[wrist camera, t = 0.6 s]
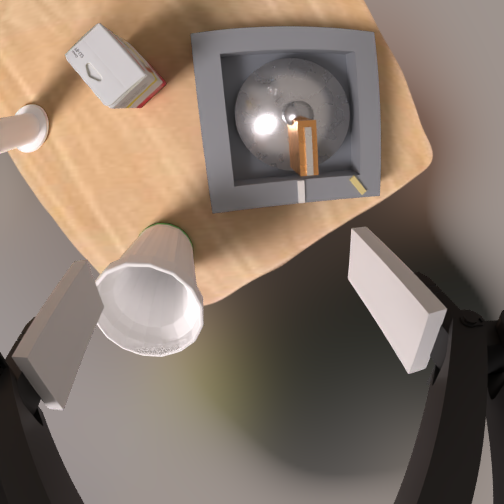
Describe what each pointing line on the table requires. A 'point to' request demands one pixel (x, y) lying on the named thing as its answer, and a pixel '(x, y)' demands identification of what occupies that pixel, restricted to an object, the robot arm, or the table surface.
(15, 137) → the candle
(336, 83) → the dial
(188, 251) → the cup
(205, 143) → the housing
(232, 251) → the table surface
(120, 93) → the ink box
